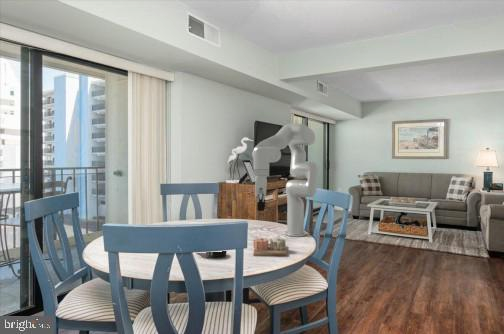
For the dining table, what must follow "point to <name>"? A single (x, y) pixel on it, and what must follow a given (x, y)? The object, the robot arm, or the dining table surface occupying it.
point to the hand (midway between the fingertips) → (261, 208)
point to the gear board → (270, 252)
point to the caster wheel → (218, 254)
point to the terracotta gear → (260, 244)
